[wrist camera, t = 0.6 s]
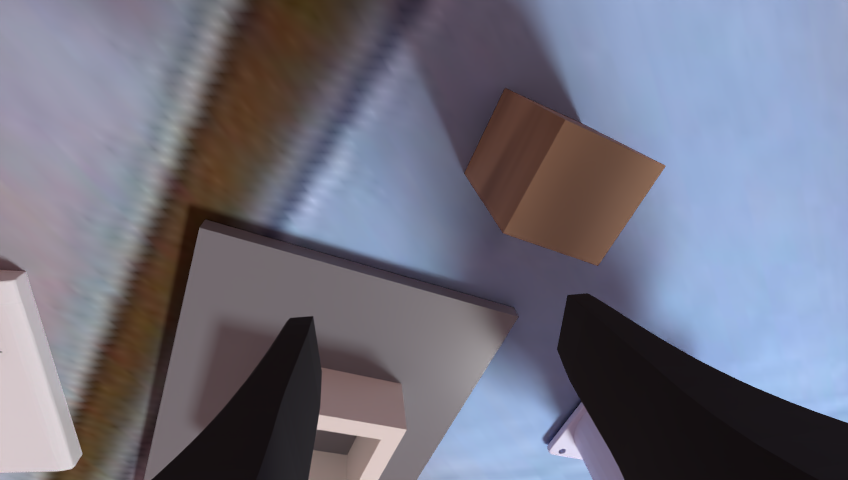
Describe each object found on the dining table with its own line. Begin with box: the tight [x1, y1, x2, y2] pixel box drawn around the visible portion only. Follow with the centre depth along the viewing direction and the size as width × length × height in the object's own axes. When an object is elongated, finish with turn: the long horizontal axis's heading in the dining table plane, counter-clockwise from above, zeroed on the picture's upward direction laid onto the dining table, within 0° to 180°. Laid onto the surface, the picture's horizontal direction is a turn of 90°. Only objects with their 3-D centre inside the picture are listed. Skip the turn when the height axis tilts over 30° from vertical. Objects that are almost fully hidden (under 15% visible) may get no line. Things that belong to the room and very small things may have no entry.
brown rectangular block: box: [464, 88, 665, 266], centre depth 17 cm, size 4×4×6 cm
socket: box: [144, 219, 518, 480], centre depth 23 cm, size 16×20×4 cm
